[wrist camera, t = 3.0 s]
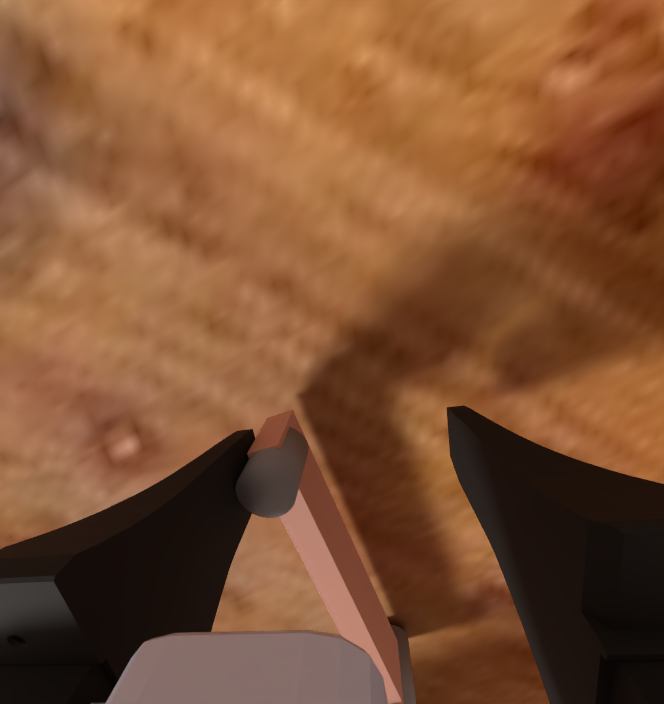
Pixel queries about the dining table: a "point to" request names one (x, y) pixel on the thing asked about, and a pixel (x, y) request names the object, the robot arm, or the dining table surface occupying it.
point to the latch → (323, 546)
